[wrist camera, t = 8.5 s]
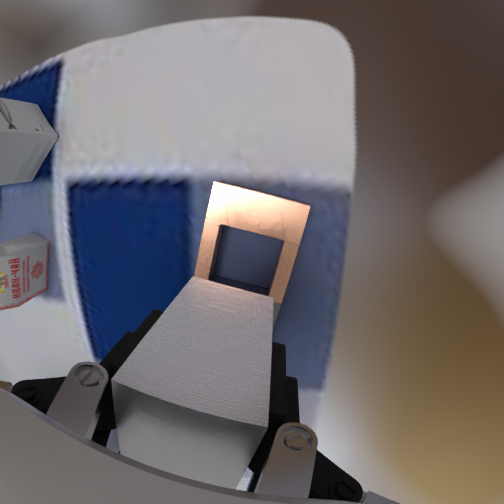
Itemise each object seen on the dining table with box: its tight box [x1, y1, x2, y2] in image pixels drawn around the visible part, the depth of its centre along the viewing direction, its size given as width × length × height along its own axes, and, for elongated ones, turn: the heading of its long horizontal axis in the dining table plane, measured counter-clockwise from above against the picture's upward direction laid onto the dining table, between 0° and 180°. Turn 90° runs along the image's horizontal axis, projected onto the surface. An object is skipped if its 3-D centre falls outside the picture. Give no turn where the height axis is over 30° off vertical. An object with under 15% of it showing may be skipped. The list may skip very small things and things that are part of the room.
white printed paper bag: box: [0, 233, 50, 310], centre depth 24 cm, size 4×7×10 cm, turn 160°
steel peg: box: [111, 276, 273, 489], centre depth 10 cm, size 4×4×8 cm
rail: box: [194, 181, 310, 331], centre depth 27 cm, size 28×8×2 cm, turn 166°
